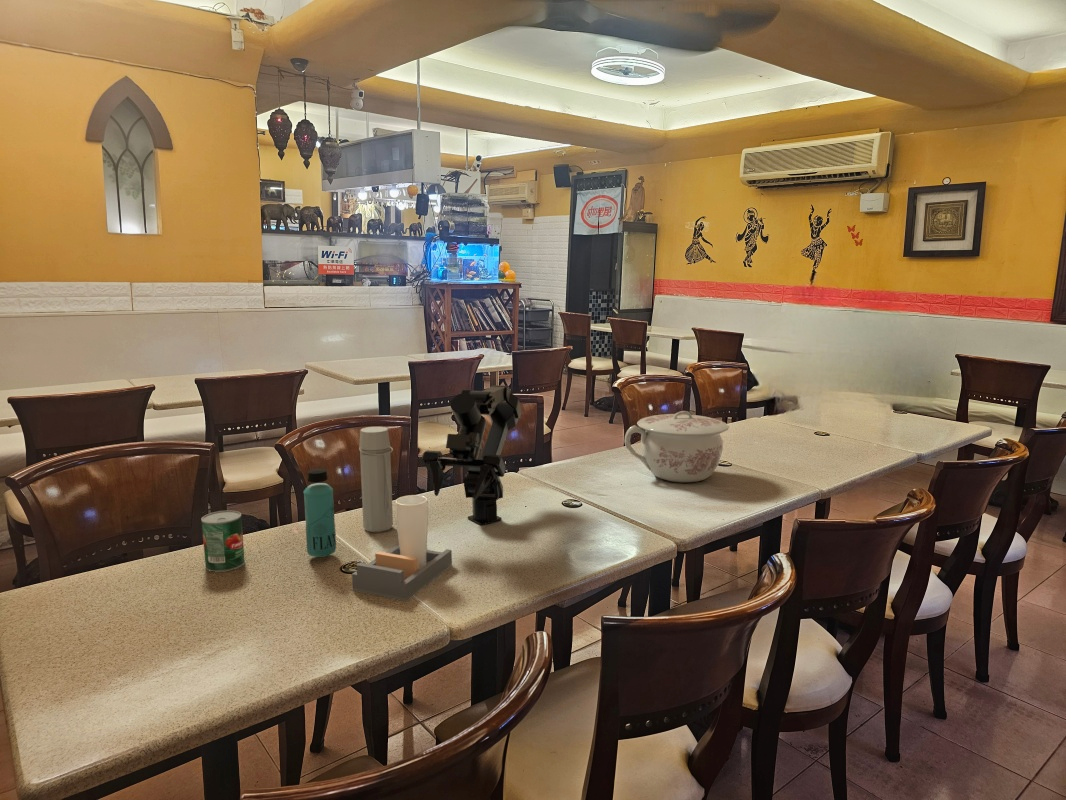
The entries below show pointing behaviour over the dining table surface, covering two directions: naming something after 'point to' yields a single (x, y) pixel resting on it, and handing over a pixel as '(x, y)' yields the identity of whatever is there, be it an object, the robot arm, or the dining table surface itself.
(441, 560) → the gray tray
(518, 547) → the dining table surface
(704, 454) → the chamber pot
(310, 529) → the beverage bottle
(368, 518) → the water bottle
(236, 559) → the canned tomato
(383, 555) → the block
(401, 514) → the drinking glass
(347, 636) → the dining table surface
